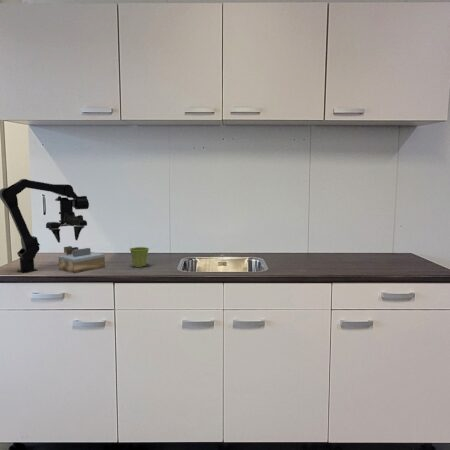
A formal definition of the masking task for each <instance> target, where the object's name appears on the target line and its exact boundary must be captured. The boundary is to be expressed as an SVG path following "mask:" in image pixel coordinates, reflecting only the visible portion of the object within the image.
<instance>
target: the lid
mask: <svg viewBox="0 0 450 450" xmlns="http://www.w3.org/2000/svg"><path fill="white" fill-rule="evenodd" d="M101 257H105V258H106V256H105V253H98V252H94V251H91V247H85V248H84V247H83V248H78V249H77V250H73V254H71V255H66V254H64V255H59V256H58V260H59V259H62V260H66V261H71V262H79V261H84V260H90V259H95V258H101Z"/></svg>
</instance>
